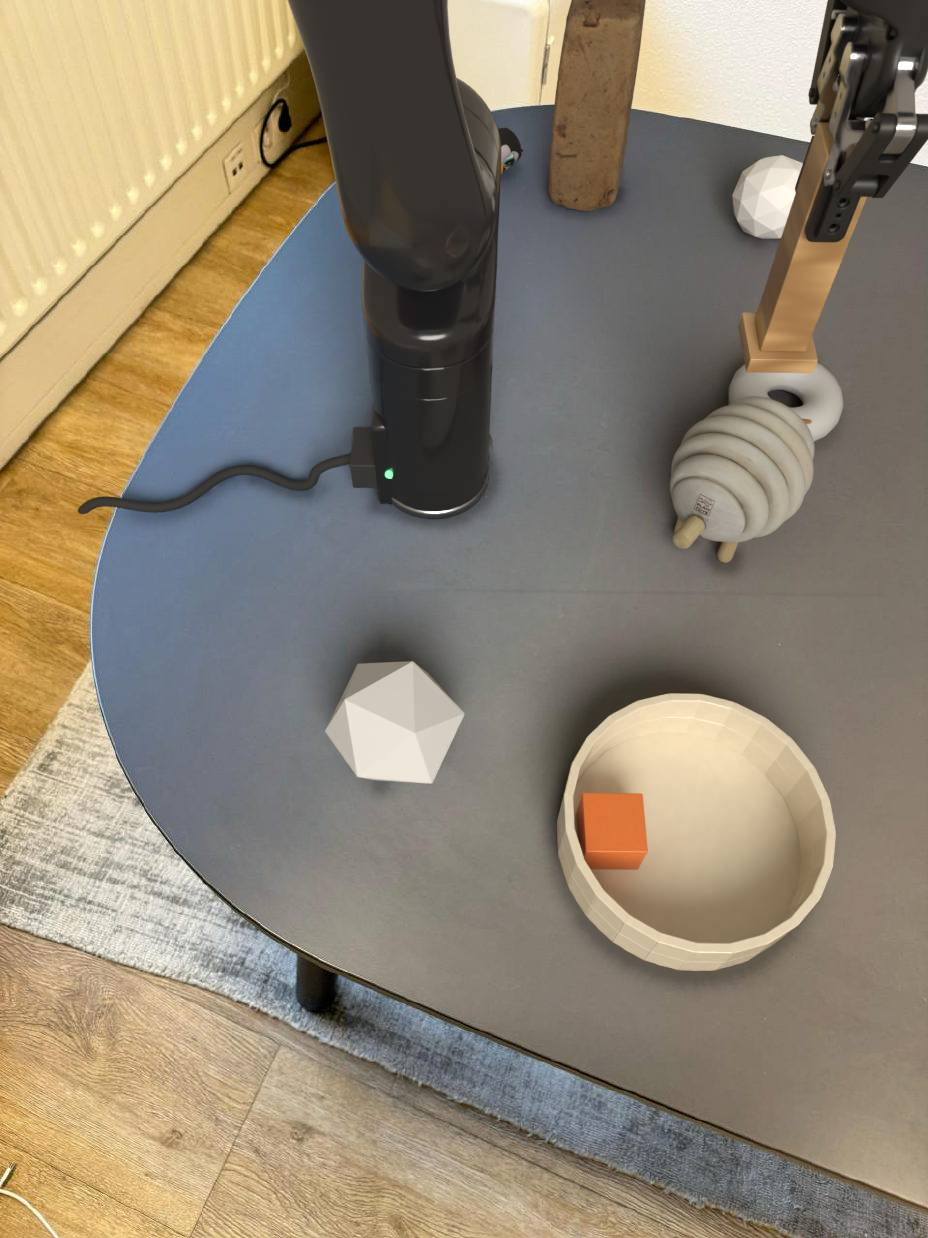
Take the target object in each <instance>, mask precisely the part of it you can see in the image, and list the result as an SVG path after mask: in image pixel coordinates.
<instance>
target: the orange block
mask: <svg viewBox="0 0 928 1238" xmlns="http://www.w3.org/2000/svg"><path fill="white" fill-rule="evenodd" d="M576 814H577V833H578V840H579V844H580V847H581V850H582V853H583V856H584V859H585V861H586V863H587V864H588V866H589V868H590V869H615V870H638V869H639V867H640V865H641V863H642V861H643V860H644V858H645V856H646V854H647V852H648V848H647V837H646V826H645V814H644V803H643V794H640V793H583V794H582V797H581V801H580V804H579V807H578V810H577V813H576Z"/></svg>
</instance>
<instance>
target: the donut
mask: <svg viewBox="0 0 928 1238" xmlns="http://www.w3.org/2000/svg"><path fill="white" fill-rule="evenodd" d="M840 386H841V385H840V384H839V382H838V381H837V379H836V377H835V376H834V375H833V374H832V373H831V372H830V371H829V370H828V369H827V368H826V367H825V366H824V365H823V364H821V363H819V362H817V364H816V366H815V368H814V371H813V373H754V372H746V367H745V363H744V364H743V365H742V366H741V367H739V369H737V371H736V372H735V373H734V375H733V377H732V380H731V382H730V384H729V386H728V405H729V404H731V403H732V402H734V401H736V400H738V399H741V398H744V397H752V396H757V397H765V398H769V399H771V397H770V396H769V394H768V393H769V392H773V391H784V392H787V393H791V394H793V395H794V396H795V397H797V398H798V399H799V400H800V401H801V404H802V405H801V406H796V407H791V406H788V407H789V408H791V409H792V410H793V411H794V412H796V413H797V414H798V415H799V416H800V417H801V418H802V419H810V420H811V421H812V423H811V424H807V426H808V428H809V430H810V432H811V434H812V437H813V440H814V442H816V441H819V440H821V439H823V438H825V437H826V436H827V435H828V434H829V433H830V432H831V431H832V430H833V429H834V428H835V427H836V426H837V425H838V424H839V422H840V418H841V416H842V413H843V409H844V398H843V391H842V388H841V387H840Z"/></svg>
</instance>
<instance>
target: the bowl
mask: <svg viewBox="0 0 928 1238" xmlns="http://www.w3.org/2000/svg"><path fill="white" fill-rule="evenodd" d="M583 793H640V794H643V803H644V814H645V826H646V837H647V848H648V852H647V854H646V856H645V858H644V860H643V861H642V863H641V865H640V867H639V869H638V870H615V869H590V868H589V866H588V864H587V863H586V861H585V859H584V856H583V853H582V850H581V847H580V844H579V840H578V833H577V814H576V813H577V810H578V807H579V804H580V801H581V797H582V794H583ZM556 835H557V838H556V839H557V840H556V841H557V854H558V859H559V863H560V865H561V869H562V872H563V875H564V879H565V881H566V884H567V887H568V889H569V891H570V892H571V894H572V895H573V897H574V899H575V902H576V903H577V904H578V905H579V908H580V909H581V910H582V912H583V914H584V915H585V917H586V918H587V919H588V920H589V921H590V922H591V923H593V925H594V926H596V928H597V929H598V930H599V931H600V932H601V933H602V934H603V935H604V936H605V937H607V938H608V939H609V941H611V942H612V943H613V944H615V945H617V946H619V947H620V948H622V949H623V950H625V951H626V952H628V953H630V954H631V955H634V956H635V957H637V958H638V959H641V960H643V961H645V962H649V963H651V964H655V965H658V966H660V967H665V968H670V969H673V970H675V971H692V972H693V971H694V972H695V971H696V972H698V971H699V972H700V971H701V972H702V971H704V972H705V971H708V972H709V971H710V972H712V971H717V970H721V969H724V968H729V967H730V968H731V967H732V966H735V965H739V964H743V963H746V962H748V961H750V960H751V959H753V958H754V957H756V956H758V955H759V954H761V953H762V952H764V951H766V950H767V949H769V948H770V947H773V946H774V945H775V944H776V943H777V942H779V941H780V940H781V939H783V938H784V937H785V936H786V935H787V934H789V933H790V932H791V931H793V930H794V929H795V928H796V927H797V926H799V925H800V924H801V923H802V921H804V919H805V918H806V917H807V916H808V914H809V913H810V912H811V910H813V908H814V907H815V906H816V905H817V904H818V903H819V901H820V900H821V899H822V896H823V893H824V891H825V889H826V886H827V884H828V881H829V878H830V877H831V874H832V871H833V869H834V868H833V867H834V861H835V860H834V858H835V849H836V839H837V831H836V825H835V820H834V814H833V809H832V804H831V800H830V797H829V794H828V793H827V790H826V788H825V785H824V783H823V782H822V780H821V778H820V775H819V773H818V771H817V768H816V767H815V765H814V764H813V763H812V762H811V761H810V759H809V758H808V757H807V755H806V754H805V753H804V752H803V750H802V749H801V748H800V746H799V745H798V744H797V743H796V741H794V739H793V738H792V737H790V736H789V735H788V734H787V733H786V732H785V731H783V730H782V729H781V728H780V727H778V726H777V725H776V724H774V722H772V721H771V720H769V719H768V718H767V717H765V716H764V715H761V714H760V713H757V712H755V711H754V710H752V709H750V708H748V707H745V706H744V705H742V704H740V703H737V702H734V701H733V700H729V699H724V698H720V697H716V696H712V695H708V694H704V693H675V692H670V693H664V694H660V695H655V696H651V697H647V698H643V699H638V700H636V701H633V702H632V703H630V704H628V705H625V706H624V707H622V708H621V709H618V710H617V711H615V712H613V713H611V714H610V715H608V716H607V717H606V718H605V719H604V720H603V721H601V723H600V724H599V725H597V726H596V728H595V729H593V730H592V732H590V733H589V735H587V737H585V740H584V741H583V742H582V744H581V746H580V748H579V750H578V752H577V754H576V755H575V757H574V759H573V760H572V762H571V764H570V768H569V771H568V776H567V779H566V783H565V787H564V791H563V795H562V799H561V803H560V807H559V812H558V816H557V820H556Z"/></svg>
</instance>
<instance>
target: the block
mask: <svg viewBox="0 0 928 1238" xmlns="http://www.w3.org/2000/svg"><path fill="white" fill-rule="evenodd" d="M646 2H647V0H571V1H570V4H569V8H568V11H567V15H566V19H565V27H564V32H563V37H562V38H563V39H562V44H561V51H560V58H559V64H558V71H557V80H556V87H555V88H556V89H555V95H554V97H555V98H554V105H553V114H552V115H553V116H552V125H551V136H550V137H551V139H550V149H549V150H550V152H549V165H548V195H549V197H550V200H551V201H552V202H553V203H554V204H555V205H557V206H563V207H565V208H567V209H571V210H576V211H582V212H594V211H595V210H598V209H601V208H607V207H611V206H612V205H613V204H615V202H616V200H617V197H618V193H619V189H620V184H621V178H622V173H623V167H624V159H625V153H626V147H627V142H628V134H629V128H630V121H631V115H632V114H631V113H632V107H633V100H634V94H635V88H636V87H635V86H636V80H637V75H638V74H637V73H638V66H639V59H640V53H641V43H642V36H643V27H644V17H645V12H646V11H645V10H646Z"/></svg>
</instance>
